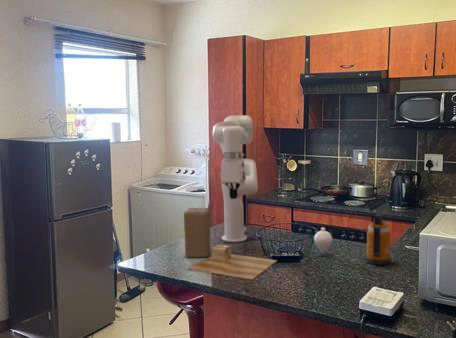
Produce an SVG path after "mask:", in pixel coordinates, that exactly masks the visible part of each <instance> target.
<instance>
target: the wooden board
mask: <svg viewBox="0 0 456 338" xmlns="http://www.w3.org/2000/svg"><path fill="white" fill-rule="evenodd" d="M276 262H278V260H277V259H272V258H271V259H270V258H263V257H255V256H250V255H249V256H248V255H241V254H234V253H231V258H229V259H228V260H226V261H217V260H212V255H211V256H210V257H209V256H208V257H207V258H206V259H204V260H202V261H200V262H198V263H197V264H195V265H193V266H191V267H189V268H188V270H193V271H200V272H205V273H210V274H216V275H222V276H227V277H233V278H234V277H235V278H241V279H247V280H254V279H255V278H256V277H258V276H259V275H260V274H261V273H263V272H264V271H265V270H267V269H268V268H270V267H271V266H272V265H273V264H274V263H276Z"/></svg>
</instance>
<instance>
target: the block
mask: <svg viewBox="0 0 456 338" xmlns="http://www.w3.org/2000/svg"><path fill="white" fill-rule="evenodd" d="M183 227H184V255H185V257H186V258H209V255H210V253H211V252H212V236H211V234H212V233H211V209H210V208H209V207H189V208H187V209H186V210H185V211H184V212H183Z"/></svg>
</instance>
